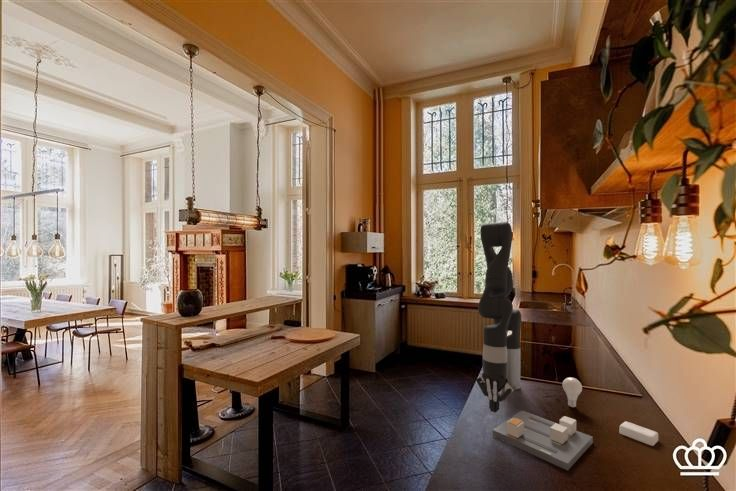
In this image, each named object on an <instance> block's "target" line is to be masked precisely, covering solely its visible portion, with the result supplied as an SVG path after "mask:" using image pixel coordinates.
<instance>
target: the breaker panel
mask: <svg viewBox="0 0 736 491" xmlns="http://www.w3.org/2000/svg"><path fill="white" fill-rule="evenodd" d="M512 418H517V419H520V420H522V422H524V434H523V435H521V436H520V437H519V438H517V437H514V436H512V435H510V434H508V433H507V422H508V421H509V420H511V419H512ZM494 436H495V437H494ZM492 437H494V438H496V437H497V439H498V438H500V439H501V441H503V440H504V441H503V442H505V443H507V444H509V445H511V446H513V445H514V446H513V447H515V446H516V448H518V449H520V450H522V451H524V452H526V453H529V454H531V455H533V456H535V457H538V458H540V459H542V460H544V461H546V462H548V463H550V464H552V465H554V466H556V467H559V468H561V469H563V470H565V471H569V470H570V469H571V467H573V465H574V464H575V463H576V462H577V461H578V460H579V459H580V458H581V456H583V454H584V453H585V452H587V450H588V449H589V448H590V447H591V446H592V444H593V443H594V441H593V440H594V438H593V437H594V436H591V435H590V434H587V433H584V432H581V431H578V430H577V420H576V419H574V418H571V417H569V416H566V415H564V416H562V417H561V418H559V423H557V422H555V421H551V420H549V419H547V418H544V417H541V416H538V415H536V414H533V413H530V412H528V411H525V410H520V411H519V412H517V413H516V414H514V415H512V416H511V417H510V418H508V419H506V421H504V422H502V423H501V424H499V425H497V426H496V427H495V428H493V429H492ZM500 439H499V440H500Z"/></svg>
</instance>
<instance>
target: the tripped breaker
mask: <svg viewBox="0 0 736 491" xmlns="http://www.w3.org/2000/svg"><path fill="white" fill-rule="evenodd" d="M507 433H508V434H510V435H512V436H514V437H517V438H519V437H520V436H521V435H523V434H524V422H522V420H520V419H517V418H512V419H511V420H509V421H508V422H507Z"/></svg>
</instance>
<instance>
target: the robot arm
mask: <svg viewBox="0 0 736 491" xmlns="http://www.w3.org/2000/svg"><path fill="white" fill-rule="evenodd" d="M479 230H480V240H481V244H482V248H483V253H484V258H485V262H486V271H485V280H484V282H485V284H484V289H483V293H482V295H481V297H480V300H479V302H478V304H477V305H478V306H477V311H478V314H479V315H480V316H481V317H482V318H484V319H493V324H490V325H485V327H484V328H483V347H482V371H483V372H482V374H481V376H478V377H477V378H475V382H476V383H477V384H478V387H479V388H480V390H481V392H482V394H483V396H484V397H487V398H488V400H489V401H488V405H489V406H488V407H489V409H490V412H492V413H497V412H499V411H500V402H503V401H505V400H506V399H507V398H508V397H509V396H510V395H512V394H513V393H514V392H515V391H516V390H517V391H518V390H519V389H521V337H522V336H521V333H522V332H521V329H522V313H521V311H520V310H519V309H514V306H513V303H512V301H511V299H509V298H508V296H510V293H511V292H512V291H513V289H514V278H513V272H512V270H511V268H510V267H509V262H510V256H511V249H512V245H513V244H512V243H513V229H512V226H511V223H509V222H508V221H500V222H499V221H498V222H489V223H483V224H481V227H480V229H479ZM496 247H498V248H500V250H499V251H498V253H496V250H495V249H494V248H496ZM508 332H511V334H509V335H508V334H507V333H508ZM503 390H504V392H503Z"/></svg>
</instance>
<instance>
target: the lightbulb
mask: <svg viewBox="0 0 736 491" xmlns="http://www.w3.org/2000/svg"><path fill="white" fill-rule="evenodd" d="M562 388H563V390H564V392H565V394H566V397H567V406H569V407H571V408H575V407H577V400H578V397H579V395H580V394H581V392H582V391H583V386H582V383H581V382H580V381H579V380H578V379H577V378H575V377H570V376H569V377H566V378H565V379H564V380H563V381H562Z"/></svg>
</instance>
